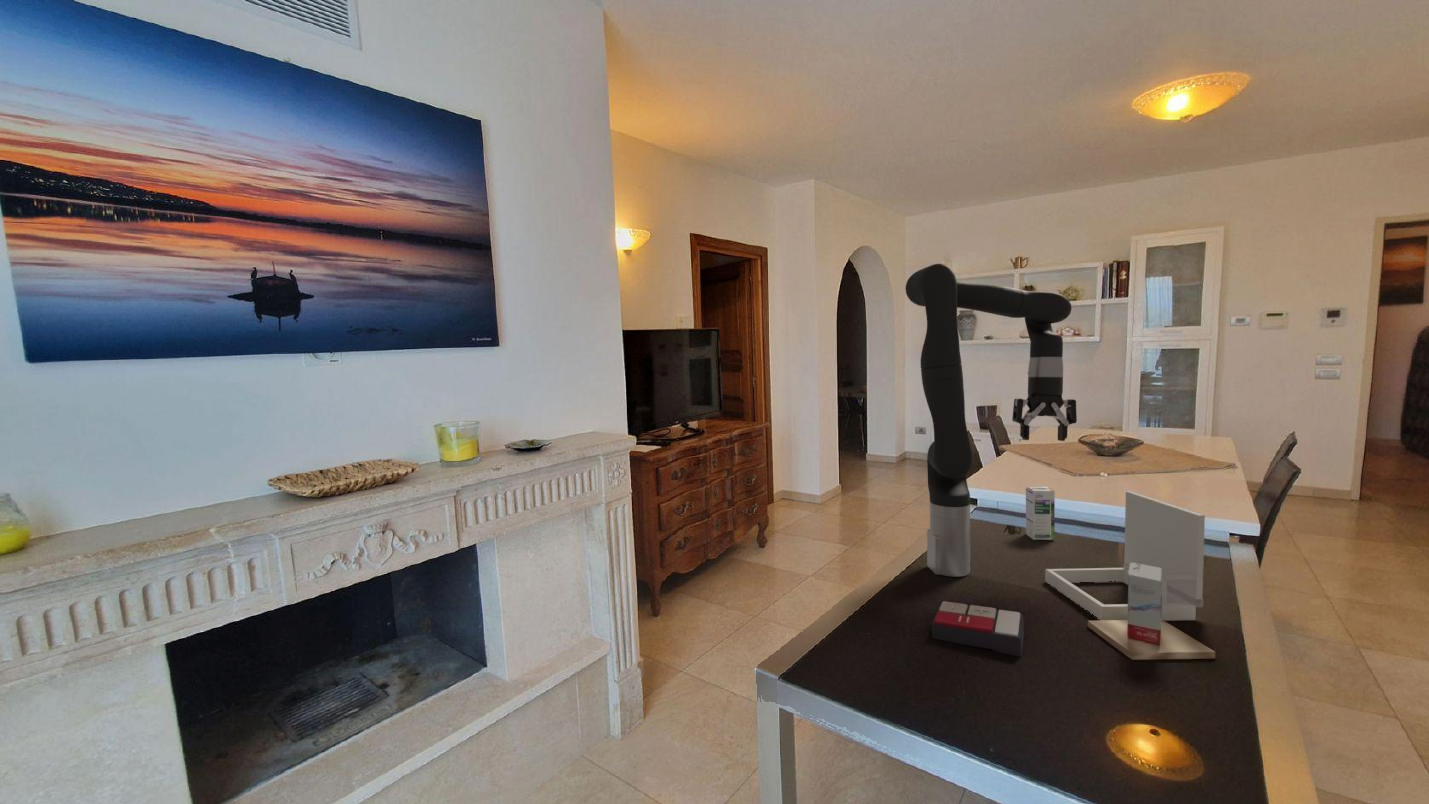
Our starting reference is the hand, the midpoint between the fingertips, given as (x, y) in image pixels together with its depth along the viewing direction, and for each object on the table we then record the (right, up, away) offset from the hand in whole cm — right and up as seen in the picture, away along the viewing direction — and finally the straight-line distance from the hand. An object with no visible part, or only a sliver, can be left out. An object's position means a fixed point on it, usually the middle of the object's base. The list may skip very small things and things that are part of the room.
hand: (1043, 440), depth 139 cm
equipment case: (+4, -33, -20) cm, 38 cm away
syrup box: (+12, -30, +22) cm, 39 cm away
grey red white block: (-32, -36, -32) cm, 58 cm away
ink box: (-3, -33, -36) cm, 49 cm away
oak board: (-3, -34, -37) cm, 51 cm away
